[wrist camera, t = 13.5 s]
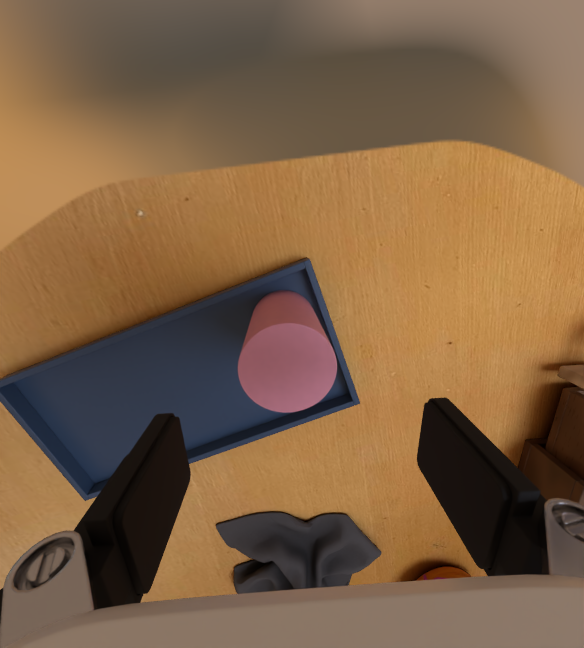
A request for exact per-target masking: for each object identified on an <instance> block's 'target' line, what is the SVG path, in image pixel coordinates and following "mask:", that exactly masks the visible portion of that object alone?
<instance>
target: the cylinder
mask: <svg viewBox="0 0 584 648" xmlns="http://www.w3.org/2000/svg"><path fill="white" fill-rule="evenodd" d="M336 373H337V360H336V355H335V352H334V350H333V348H332V346H331V344H330V342H329V340H328V338H327V336H326V334H325V332H324V330H323V328H322V326H321V324H320V322H319V320H318V318H317V316H316V314H315V312H314V310H313V308H312V306H311V304H310V303H309V302H308V301H307V300H306V298H304V297H303V296H302V295H300V294H298V293H296V292H293V291H288V290H280V291H275V292H272V293H269V294H268V295H266V296H264V297H263V298H262V299H261V300H260V301H259V302H258V303H257V305H256V307H255V309H254V311H253V314H252V317H251V321H250V324H249V327H248V331H247V334H246V337H245V340H244V344H243V347H242V350H241V353H240V357H239V361H238V376H239V380H240V383H241V385H242V387H243V389H244V391H245V392H246V394H247V395H248V396H249V397H250V398H251V399H252V400H253V401H254V402H255V403H257V404H258V405H260V406H262V407H264V408H266V409H269V410H271V411H276V412H283V413H287V412H297V411H301V410H304V409H307V408H309V407H311V406H313V405H315V404H316V403H318V402H319V401H320V400H322V399H323V398H324V397H325V396H326V395H327V393H328V392H329V390H330V389H331V387H332V385H333V383H334V381H335V378H336Z"/></svg>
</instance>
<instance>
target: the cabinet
mask: <svg viewBox="0 0 584 648" xmlns="http://www.w3.org/2000/svg"><path fill="white" fill-rule="evenodd" d="M547 440H548V438H544V439H530V440H526V441H525V445H524V448H523V452H522V456H521V459H520V463H519V466H518V469H519V470H520V471H521V472H522V473H523V474H524V475H525V476H526V477H527V478H528V479H529V480H530V481H531V482H532V483H533V484H534V485H535V486H536V487H537V488H538V489H539V490H540V491H541V492H540V494H541V495H542V496H543V497H544V498H545V499H546V500H547V501H548V500H549V499H553V498H561V499H567V500H571V501H574V502H577V503H579V504H581V505H583V506H584V481H583V480H582V479H581V478H580V477H579V476H577V475H576V474H575V473H574V472H572V471H571V470H570V469H569V468H567V467H566V466H565V465H564V464H562V463H561V462H560V461H559V460H557V459H556V458H555V457H554V456H552V455H551V454H550V453H548V452H547V451H546V450H545V447H546V444H547Z"/></svg>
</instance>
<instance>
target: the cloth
mask: <svg viewBox="0 0 584 648" xmlns="http://www.w3.org/2000/svg"><path fill="white" fill-rule="evenodd" d="M216 528H217V530H218V532H219V534H220V535H221V537H222V538H223V540H224V541H225V543H226V544H227V545H228V546H229V547H231V548H236V549H237V550H238V551H240V552H241V553H243V554H244V555H246V556H248V557H249V558H252V559H255V560H251V561H249V562H246V563H243V564H240V565H238V566H236V567H235V568H234V571H235V572H234V586H235V589H236V592H237V593H238V594H244V593H257V592H269V591H282V590H295V589H309V588H322V587H335V586H348V585H349V582H350V579H351V575H352V574H353V573H356V572H359V571H361V570H362V569H364V568H365V567H367V566H368V565H370V564H371V563H372V562H373V561H374V560H375V559H376V558H378V557H379V556H380V555H381V551H380V550H379V549H378V548H377V547H376V546H375V545H374V544H373V543H372V542H371V541H370V540H369V539H368V538H367V537H366V536H365V535H364V534H363V533H362V532H361V531H360V529H359V528H358V527H357V526H356V525H355V523H354V522H353V521H352V520H351V519H350V518H349V516H347V515H344V514H324V515H320V516H318V517H316V518H314V519H312V520H310V521H308V522H304V521H301V520H299V519H297V518H295V517H292V516H291V515H288V514H286V513H282V512H265V513H256V514H251V515H247V516H243V517H240V518H236V519H233V520H229V521H226V522H222V523H219V524H217V525H216Z"/></svg>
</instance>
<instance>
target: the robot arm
mask: <svg viewBox="0 0 584 648" xmlns="http://www.w3.org/2000/svg"><path fill="white" fill-rule="evenodd" d="M417 462H418V466H419V468H420V470H421V472H422V473H423V475H424V477H425V478H426V480H427V482H428V484H429V485H430V487H431V489H432V490H433V492H434V494H435V495H436V497H437V499H438V501H439V502H440V504H441V506H442V507H443V509H444V511H445V512H446V514H447V516H448V518H449V519H450V521H451V523H452V524H453V526H454V528H455V529H456V531H457V533H458V534H459V536H460V538H461V540H462V541H463V543H464V545H465V546H466V548H467V550H468V551H469V553H470V555H471V557H472V558H473V560H474V562H475V563H476V565H477V566H478V567H479V568H481V569H484V570H485V572H486V574H487V575H488V576H484V577H465V578H450V579H435V580H420V581H406V582H391V583H377V584H363V585H349V586H335V587H322V588H309V589H295V590H282V591H269V592H257V593H244V594H232V595H219V596H207V597H194V598H183V599H174V600H164V601H154V602H144V603H140V602H141V599H142V596H143V594H145V593H148V592H149V590H150V589H151V586H152V584H153V581H154V578H155V575H156V573H157V570H158V567H159V564H160V562H161V559H162V556H163V553H164V551H165V548H166V545H167V542H168V540H169V537H170V534H171V531H172V529H173V526H174V523H175V520H176V518H177V515H178V512H179V509H180V507H181V504H182V501H183V498H184V496H185V493H186V490H187V487H188V485H189V482H190V467H189V463H188V458H187V453H186V448H185V443H184V438H183V433H182V428H181V423H180V419H179V417H175V415H174V413H163V414H156V415H155V416H154V418H153V419H152V421H151V422H150V424H149V425H148V426H147V428H146V429H145V431H144V432H143V434H142V435H141V437H140V438H139V440H138V441H137V443H136V444H135V446H134V447H133V448H132V450H131V451H130V453H129V454H128V455H126V456H125V458H124V459H123V460H122V462H121V463H120V464H119V466H118V467H117V469H116V470H115V472H114V473H113V475H112V476H111V477H110V479H109V480H108V482H107V483H106V485H105V486H104V488H103V489H102V490H101V492H100V493H99V495H98V496H97V498H96V499H95V501H94V502H93V503H92V505H91V506H90V508H89V509H88V511H87V512H86V514H85V515H84V516H83V518H82V519H81V521H80V522H79V524H78V525H77V527H76V528H75V529H74V531H62V532H58V533H55V534H53V535H51V536H49V537H46V538H44V539H43V540H41V541H40V542H38V543H37V544H35V545H34V546H32V547H31V548H30V549H29V550H28V551H27V552H25V553H24V554H23V555H22V556H21V557H20V558H19V560H18V561H17V562H16V563H15V564H14V565H13V567H12V568H11V570H10V572H9V573H8V575H7V577H6V580H5V583H4V587H3V588H2V589H1V590H0V648H584V506H583V505H581V504H579V503H577V502H574V501H571V500H567V499H561V498H553V499H549V500H548V501H547V500H546V499H545V498H544V497H543V496H542V495H541V494H540V492H541V491H540V490H539V489H538V488H537V487H536V486H535V485H534V484H533V483H532V482H531V481H530V480H529V479H528V478H527V477H526V476H525V475H524V474H523V473H522V472H521V471H520V470H519V469H518V468H517V467H516V466H515V465H514V464H513V463H512V462H511V461H510V460H509V459H508V458H507V457H506V456H505V455H504V454H503V453H502V452H501V451H500V450H499V449H498V448H497V447H496V446H495V445H494V444H493V443H492V442H491V441H490V440H489V439H488V438H487V437H486V436H485V435H484V434H483V433H482V432H481V431H480V430H479V429H478V428H477V427H476V426H475V425H474V424H473V423H472V422H471V421H470V420H469V419H468V418H467V417H466V416H465V415H464V414H463V413H462V412H461V411H460V410H459V409H458V408H457V407H456V406H455V405H454V404H453V403H452V402H451V401H450V400H449V399H447V398H431V399H429V401H428V403H425V405H424V410H423V418H422V425H421V432H420V439H419V447H418V454H417Z"/></svg>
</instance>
